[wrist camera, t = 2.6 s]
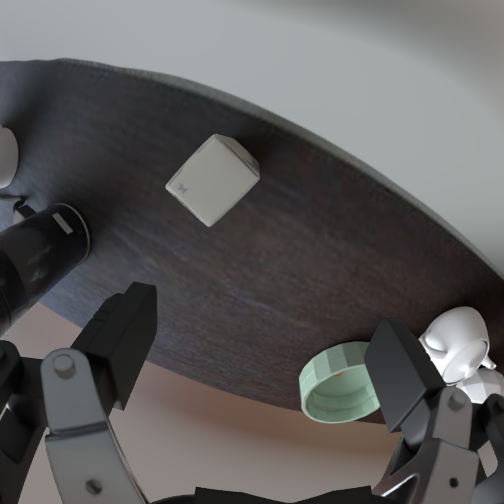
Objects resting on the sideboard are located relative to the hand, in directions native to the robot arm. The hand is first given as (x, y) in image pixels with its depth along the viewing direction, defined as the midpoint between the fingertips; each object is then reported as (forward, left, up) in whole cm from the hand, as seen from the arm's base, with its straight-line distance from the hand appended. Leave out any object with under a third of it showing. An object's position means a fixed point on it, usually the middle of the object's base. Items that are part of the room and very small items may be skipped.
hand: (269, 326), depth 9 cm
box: (-4, +2, -23) cm, 24 cm away
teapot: (+36, -16, -23) cm, 46 cm away
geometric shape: (+54, -29, -23) cm, 65 cm away
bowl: (+19, -26, -23) cm, 39 cm away
